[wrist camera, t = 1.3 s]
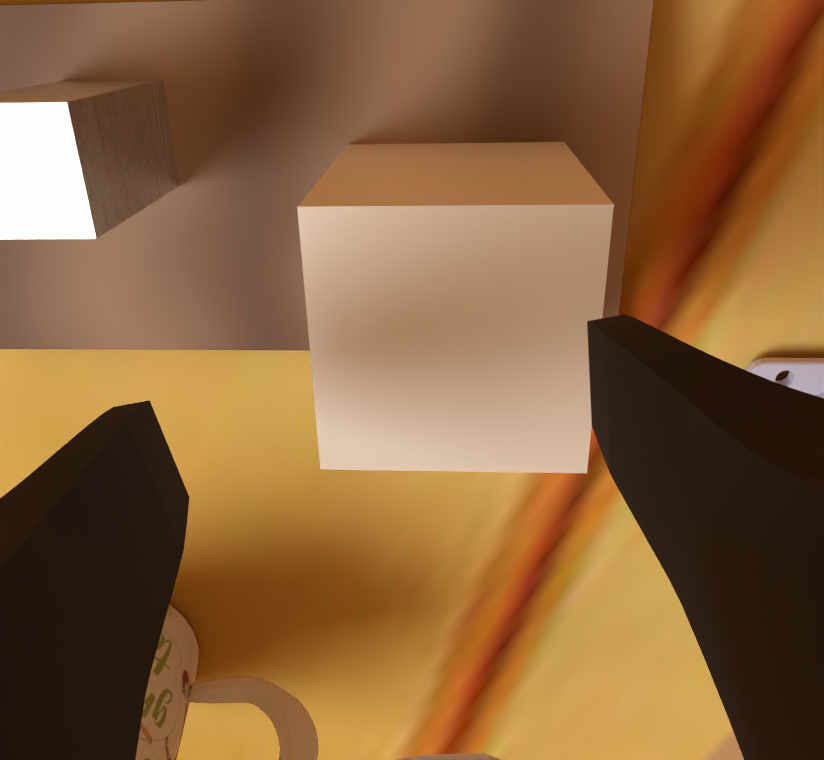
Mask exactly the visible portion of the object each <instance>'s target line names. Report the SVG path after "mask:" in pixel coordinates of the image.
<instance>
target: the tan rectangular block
mask: <svg viewBox="0 0 824 760" xmlns="http://www.w3.org/2000/svg"><path fill="white" fill-rule="evenodd" d="M613 208H614V204H613V203H612V201H611V200H610V199H609V198H608V196H607V195H606V194H605V193H604V191H603V190H602V189H601V188H600V186H599V185H598V184H597V183H596V181H595V180H594V179H593V177H592V176H591V175H590V174H589V172H588V171H587V170H586V169H585V167H584V166H583V165H582V164H581V162H580V161H579V160H578V159H577V157H576V156H575V155H574V154H573V152H572V151H571V150H570V148H569V147H568V146H567V145H566V143H565V142H512V143H427V144H348V145H347V146H346V147H345V149H344V150H343V151H342V152H341V154H340V155H339V156H338V157H337V158H336V160H335V161H334V162H333V163H332V165H331V166H330V167H329V168H328V169H327V171H326V172H325V173H324V174H323V176H322V177H321V178H320V179H319V181H318V182H317V183H316V184H315V185H314V187H313V188H312V189H311V190H310V192H309V193H308V194H307V195H306V196H305V198H304V199H303V200H302V201H301V203H300V204H299V205H298V206H297V211H298V222H299V233H300V244H301V256H302V267H303V278H304V289H305V301H306V312H307V323H308V334H309V345H310V357H311V368H312V379H313V390H314V402H315V413H316V424H317V435H318V446H319V458H320V469H329V470H399V471H468V472H537V473H587V466H588V456H589V446H590V436H591V426H592V420H591V397H590V375H589V352H588V329H587V321H591V320H596V319H602V317H603V307H604V298H605V288H606V278H607V268H608V258H609V248H610V238H611V228H612V218H613Z"/></svg>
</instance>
